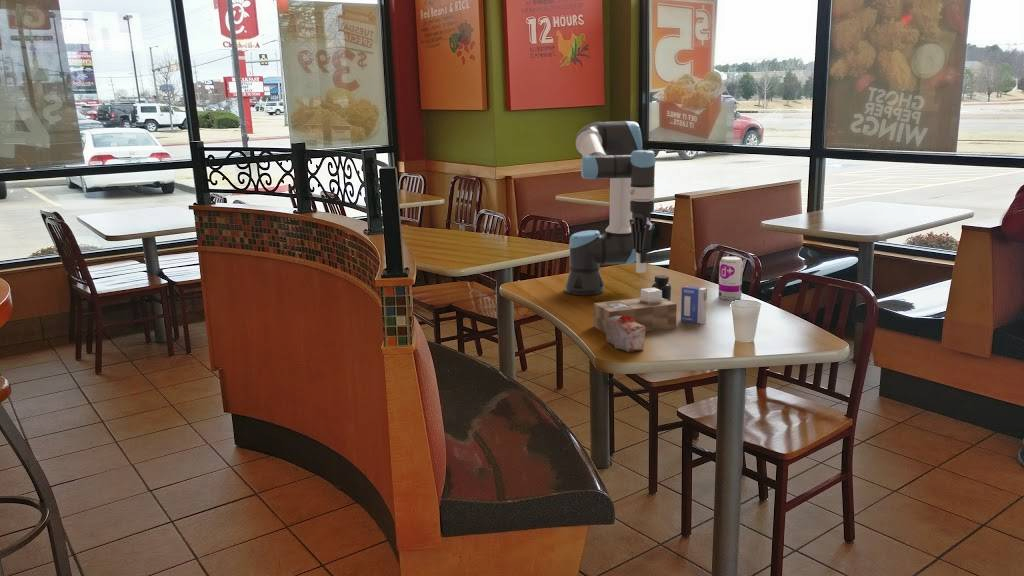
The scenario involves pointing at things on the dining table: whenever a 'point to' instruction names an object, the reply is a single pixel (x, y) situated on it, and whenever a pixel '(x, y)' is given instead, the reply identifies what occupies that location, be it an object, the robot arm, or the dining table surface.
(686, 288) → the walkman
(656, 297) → the peg far
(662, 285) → the supplement bottle
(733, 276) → the supplement can
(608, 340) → the food item
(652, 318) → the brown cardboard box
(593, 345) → the dining table surface
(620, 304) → the peg near
